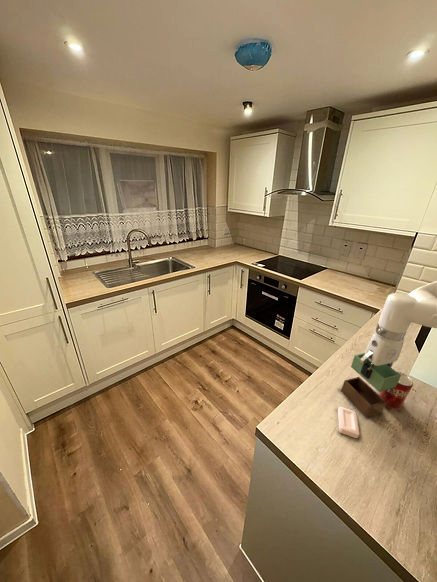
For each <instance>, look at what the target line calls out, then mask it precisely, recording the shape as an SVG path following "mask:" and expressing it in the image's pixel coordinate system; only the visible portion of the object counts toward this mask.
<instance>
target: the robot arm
mask: <svg viewBox="0 0 437 582" xmlns="http://www.w3.org/2000/svg"><path fill="white" fill-rule="evenodd" d="M411 323H413V324H416V325H418V326H419V325H420V326H422V327H427V328H430V329H431V328H432V329H437V280H435V281H432V282H430V283H426V284H424V285H422V286H420V287H417V288H415V289H414V290H412V291H410V292H409V293H407V294H406V293H402V292H392V293H390V294H388V296H386V299H385V301H384V305H383V308H382V310H381V313H380V316H379V318H378V321H377V324H376V327H375V329H374V333H373V334H372V336H371V338H370V339H369V342H368V344H367V347H366V349H365V351H364V353H365V355H364V356H363V357H362V358H361V359H360V361H361V363H362V365H363V366H362V369H361V372H360V373H361V374H362V375H363V376H364V377H366V378H367V379H369V378H370V375H371V373H372V368H373V366H374V365H376V366H380V365H384V364H387V365H388V366H390V365H391V364H392V363H393V364H394V362H397V361H398V360H399V357H400V355H401V353H402V349H403V346H404V342H405V336H406V335H407V331H408V329H409V326H410V325H411ZM371 357H372V359H370V358H371ZM368 361H370V362H372V363H371V364H370V366H369V364H368V363H367V362H368ZM389 364H390V365H389ZM393 364H392V365H393Z"/></svg>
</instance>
